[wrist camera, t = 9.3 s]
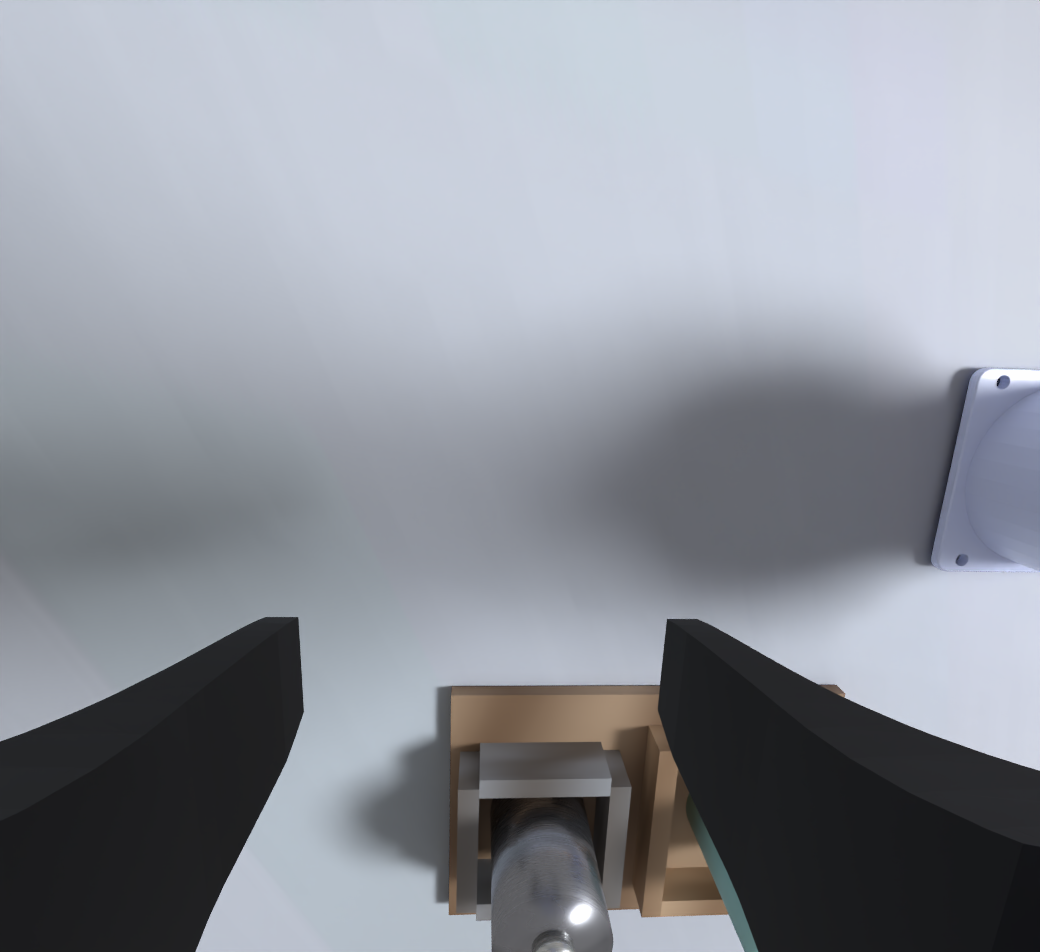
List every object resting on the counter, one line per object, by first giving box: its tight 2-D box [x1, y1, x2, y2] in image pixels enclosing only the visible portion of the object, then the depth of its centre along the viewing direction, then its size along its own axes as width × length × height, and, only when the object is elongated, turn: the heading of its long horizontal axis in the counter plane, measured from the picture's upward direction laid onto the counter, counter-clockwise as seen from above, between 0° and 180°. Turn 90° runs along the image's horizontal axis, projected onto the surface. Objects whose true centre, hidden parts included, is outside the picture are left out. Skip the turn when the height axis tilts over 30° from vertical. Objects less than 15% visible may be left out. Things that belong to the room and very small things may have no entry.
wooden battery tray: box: [449, 685, 845, 921], centre depth 23 cm, size 16×11×3 cm
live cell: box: [686, 793, 758, 952], centre depth 21 cm, size 4×4×6 cm
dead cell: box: [490, 797, 613, 952], centre depth 20 cm, size 4×4×6 cm
